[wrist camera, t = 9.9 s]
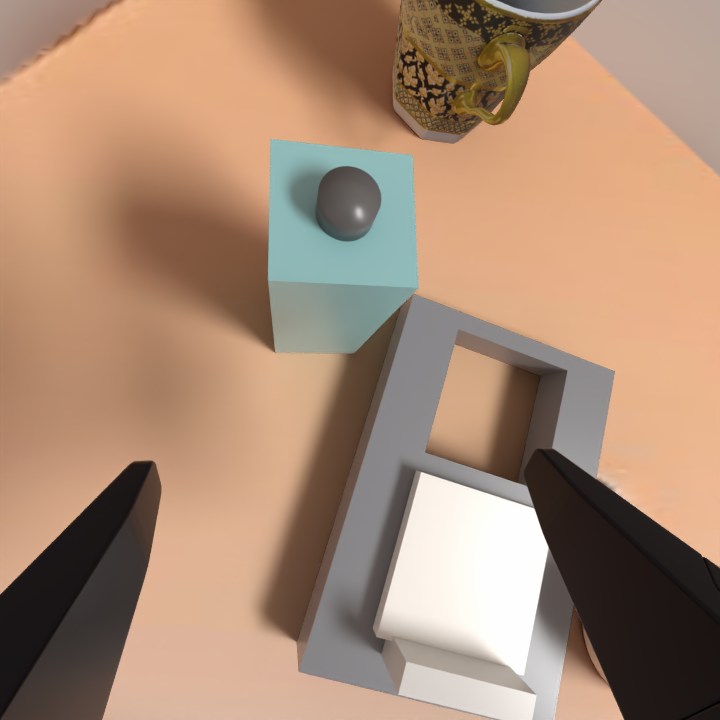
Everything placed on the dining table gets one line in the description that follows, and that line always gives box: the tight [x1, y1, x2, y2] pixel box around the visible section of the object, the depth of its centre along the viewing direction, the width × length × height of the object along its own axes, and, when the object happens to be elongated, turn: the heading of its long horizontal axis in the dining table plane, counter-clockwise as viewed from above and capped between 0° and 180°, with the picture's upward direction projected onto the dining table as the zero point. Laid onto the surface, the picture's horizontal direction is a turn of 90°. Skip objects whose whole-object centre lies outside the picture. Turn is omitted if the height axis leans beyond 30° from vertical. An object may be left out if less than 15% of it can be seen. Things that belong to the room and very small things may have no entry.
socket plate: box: [297, 294, 615, 720], centre depth 22 cm, size 19×13×2 cm
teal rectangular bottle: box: [268, 139, 418, 354], centre depth 17 cm, size 5×4×12 cm
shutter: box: [373, 470, 549, 720], centre depth 18 cm, size 8×8×3 cm
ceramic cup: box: [393, 0, 602, 143], centre depth 22 cm, size 13×10×10 cm
